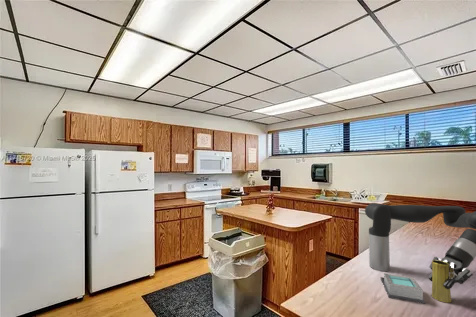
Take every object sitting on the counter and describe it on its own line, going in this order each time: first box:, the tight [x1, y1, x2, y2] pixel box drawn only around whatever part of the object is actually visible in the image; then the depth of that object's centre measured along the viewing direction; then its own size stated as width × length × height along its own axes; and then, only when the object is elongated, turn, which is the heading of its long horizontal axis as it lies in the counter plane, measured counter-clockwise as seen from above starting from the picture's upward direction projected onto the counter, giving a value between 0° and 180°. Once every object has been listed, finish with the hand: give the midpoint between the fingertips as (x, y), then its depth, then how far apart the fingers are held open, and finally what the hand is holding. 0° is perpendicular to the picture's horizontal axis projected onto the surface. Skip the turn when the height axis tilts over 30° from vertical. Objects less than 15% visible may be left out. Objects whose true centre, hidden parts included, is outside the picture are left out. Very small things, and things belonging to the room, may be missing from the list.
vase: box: [431, 259, 453, 304], centre depth 95 cm, size 6×6×14 cm
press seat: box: [390, 278, 414, 287], centre depth 99 cm, size 7×7×1 cm
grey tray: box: [380, 273, 426, 305], centre depth 101 cm, size 17×12×5 cm
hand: (437, 283), depth 95 cm, fingers closed on vase, 5 cm apart
